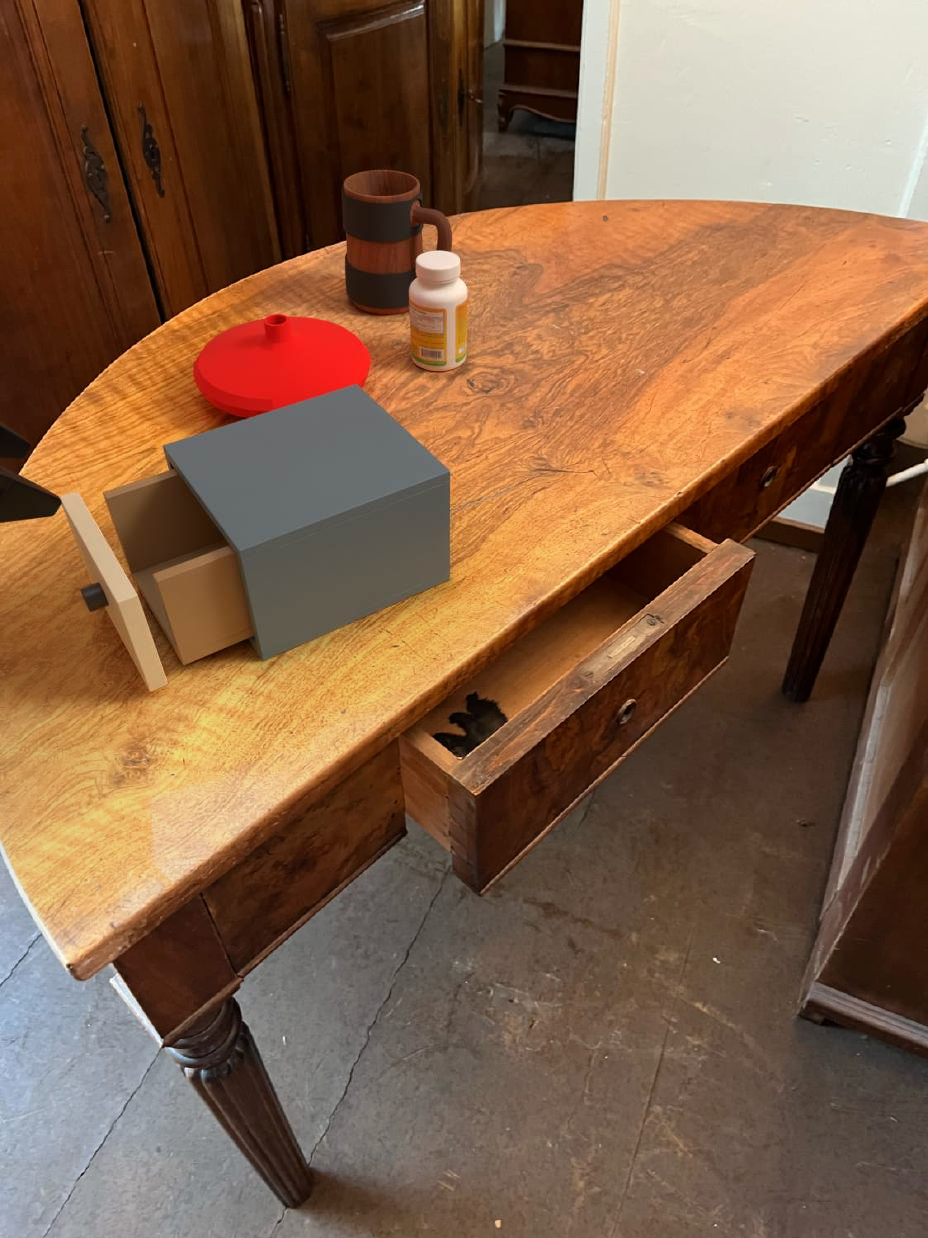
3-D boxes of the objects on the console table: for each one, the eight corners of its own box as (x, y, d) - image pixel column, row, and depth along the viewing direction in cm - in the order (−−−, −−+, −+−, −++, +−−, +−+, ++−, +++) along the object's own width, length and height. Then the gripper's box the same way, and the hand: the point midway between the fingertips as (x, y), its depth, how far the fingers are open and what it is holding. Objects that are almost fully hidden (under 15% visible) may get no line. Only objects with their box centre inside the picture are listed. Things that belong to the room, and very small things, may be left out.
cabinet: (263, 661, 58) (238, 550, 51) (191, 554, 66) (162, 445, 59) (450, 579, 64) (450, 470, 57) (365, 489, 71) (356, 383, 65)
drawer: (131, 700, 55) (95, 611, 49) (76, 592, 61) (39, 502, 56) (343, 609, 60) (332, 520, 55) (271, 520, 67) (256, 432, 62)
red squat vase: (273, 464, 74) (260, 388, 69) (164, 393, 81) (145, 320, 76) (408, 391, 82) (406, 319, 77) (298, 332, 89) (289, 263, 84)
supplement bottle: (451, 340, 89) (452, 242, 82) (476, 365, 85) (478, 265, 78) (402, 351, 87) (398, 252, 80) (425, 377, 84) (422, 276, 77)
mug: (431, 332, 90) (429, 213, 81) (331, 305, 94) (319, 189, 85) (469, 297, 95) (472, 182, 87) (373, 273, 99) (367, 161, 91)
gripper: (-204, 266, 30) (179, 441, 42) (-251, 116, 41) (65, 290, 53) (-335, 526, 33) (63, 621, 45) (-346, 320, 43) (-24, 441, 56)
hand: (41, 477), depth 50 cm, fingers open, 6 cm apart
